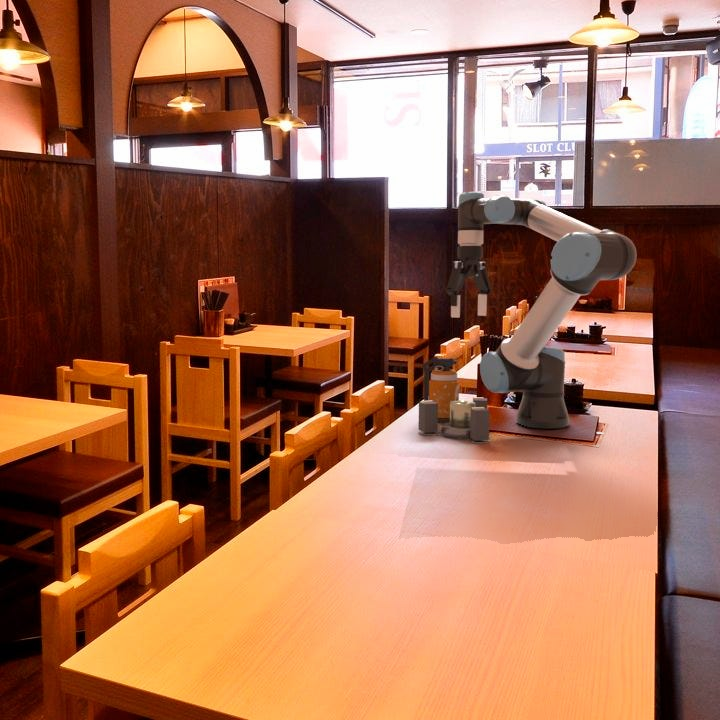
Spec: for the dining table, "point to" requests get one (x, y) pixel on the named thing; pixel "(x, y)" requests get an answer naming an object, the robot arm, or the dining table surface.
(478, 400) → the knob
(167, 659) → the dining table surface
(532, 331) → the robot arm
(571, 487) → the dining table surface
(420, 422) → the grey upright block
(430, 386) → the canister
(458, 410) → the tribrach
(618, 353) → the dining table surface
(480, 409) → the gray rectangular block
